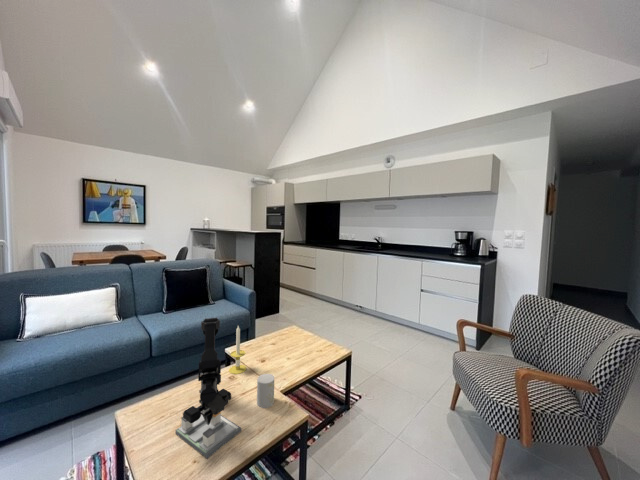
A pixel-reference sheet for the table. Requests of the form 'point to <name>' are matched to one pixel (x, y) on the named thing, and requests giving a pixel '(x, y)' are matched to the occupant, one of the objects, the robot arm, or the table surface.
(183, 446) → the table surface
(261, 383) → the grey cylinder
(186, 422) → the toggle left
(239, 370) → the candle
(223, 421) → the panel
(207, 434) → the toggle right
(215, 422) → the toggle mid
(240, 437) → the table surface
